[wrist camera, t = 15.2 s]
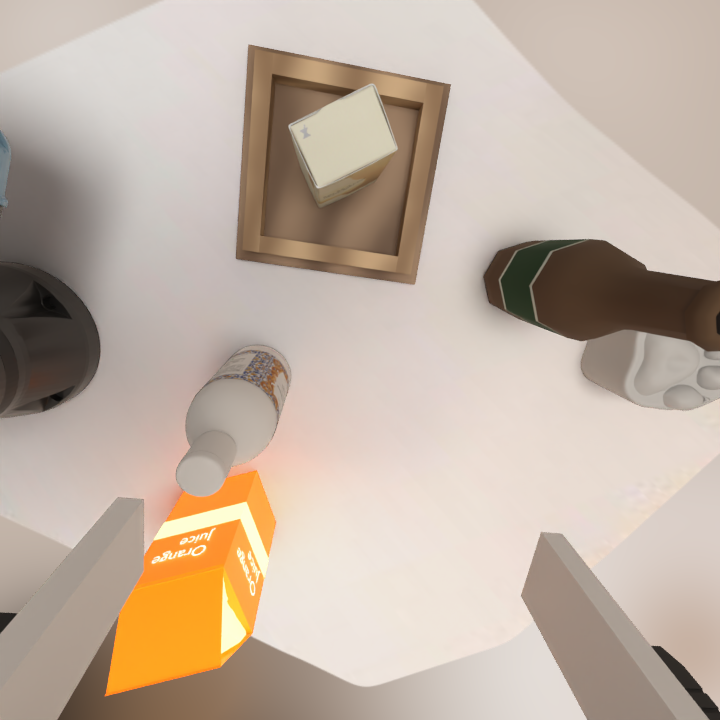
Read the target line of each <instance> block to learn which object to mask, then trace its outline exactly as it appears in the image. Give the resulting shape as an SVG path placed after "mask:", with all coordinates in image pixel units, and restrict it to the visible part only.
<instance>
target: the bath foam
mask: <svg viewBox="0 0 720 720" xmlns="http://www.w3.org/2000/svg"><path fill="white" fill-rule="evenodd" d="M290 381H291V373H290V368H289V366H288V364H287V362H286V360H285V359H284V357H283V356H282V355H281V354H280V353H278V352H277V351H275V350H274V349H272V348H269V347H266V346H260V345H254V346H248V347H245V348H242V349H241V350H239V351H237V352H236V353H235V354H234V355H233V356H232V357H231V358H230V359H229V360H228V361H227V362H226V363H225V364H224V365H223V366H222V367H221V368H220V370H219V371H218V372H217V373H216V374H215V375H214V376H213V377H212V378H211V379H210V380H209V381H208V382H207V383H206V385H205V386H204V387H203V388H202V389H201V390H200V391H199V392H198V393H197V395H196V396H195V397H194V399H193V401H192V403H191V405H190V407H189V410H188V413H187V417H186V435H187V439H188V442H189V444H190V446H191V448H190V449H189V450H188V452H187V453H186V455H185V456H184V457H183V459H182V460H181V462H180V463H179V465H178V467H177V470H176V480H177V483H178V484H179V486H180V487H181V489H182V490H184V491H185V492H186V493H188V494H190V495H193V496H197V497H206V496H210V495H212V494H214V493H216V492H217V491H218V490H219V489H220V488H221V487H222V486H223V484H224V482H225V480H226V478H227V475H228V473H229V471H230V469H231V467H233V466H238V465H241V464H244V463H246V462H248V461H250V460H252V459H253V458H255V457H256V456H258V455H259V454H260V453H261V452H262V451H263V450H264V449H265V448H266V446H267V445H268V444H269V442H270V441H271V439H272V437H273V435H274V433H275V430H276V427H277V424H278V421H279V418H280V415H281V412H282V408H283V405H284V402H285V399H286V396H287V393H288V389H289V386H290Z"/></svg>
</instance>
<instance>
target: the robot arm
mask: <svg viewBox="0 0 720 720" xmlns="http://www.w3.org/2000/svg"><path fill="white" fill-rule="evenodd" d="M10 161H11V148H10V145H9V142H8V140H7V138H6V137H5V135H4V134H3V132H2V131H1V130H0V218H1V214H2V210H3V207H5V208H7V204H8V201H7V199H6V198H5V191H6V185H7V179H8V173H9V167H10ZM99 354H100V346H99V337H98V333H97V329H96V326H95V324H94V321H93V319H92V317H91V315H90V313H89V311H88V310H87V308H86V307H85V305H84V304H83V303H82V301H81V300H80V299H79V298H78V297H77V295H76V294H75V293H74V292H73V291H72V290H71V289H69V288H68V287H67V286H66V285H65V284H63V283H62V282H61V281H59V280H58V279H56V278H55V277H53V276H51V275H50V274H48V273H46V272H44V271H41V270H39V269H36V268H34V267H31V266H27V265H23V264H18V263H10V262H0V418H8V417H15V416H22V415H29V414H35V413H40V412H44V411H47V410H50V409H52V408H55V407H57V406H59V405H61V404H62V403H64V402H66V401H68V400H69V399H71V398H73V397H74V396H76V395H77V394H79V393H80V392H81V391H82V390H83V389H84V388H85V387H86V386H87V385H88V384H89V382H90V381H91V379H92V378H93V376H94V374H95V371H96V369H97V365H98V361H99ZM143 572H144V499H132V498H120V497H118V498H117V499H116V500H115V501H114V502H113V504H112V505H111V506H110V507H109V508H108V509H107V511H106V512H105V513H104V514H103V515H102V516H101V518H100V519H99V520H98V521H97V522H96V523H95V525H94V526H93V527H92V528H91V529H90V530H89V531H88V533H87V534H86V535H85V536H84V537H83V538H82V540H81V541H80V542H79V543H78V544H77V545H76V547H75V548H74V549H73V550H72V551H71V553H70V554H69V555H68V556H67V557H66V558H65V559H64V560H63V562H62V563H61V564H60V565H59V567H58V568H57V569H56V570H55V571H54V572H53V573H52V574H51V576H50V577H49V578H48V579H47V580H46V581H45V583H44V584H43V585H42V586H41V587H40V588H39V590H38V591H37V592H36V593H35V594H34V595H33V596H32V598H31V599H30V600H29V601H28V602H27V603H26V605H25V606H24V607H23V608H22V609H21V610H20V612H19V613H18V614H16V613H0V720H57V719H58V717H59V716H60V714H61V712H62V710H63V709H64V707H65V705H66V704H67V702H68V700H69V698H70V697H71V695H72V693H73V692H74V690H75V688H76V687H77V685H78V683H79V681H80V679H81V678H82V676H83V675H84V673H85V671H86V669H87V668H88V666H89V664H90V663H91V661H92V659H93V657H94V656H95V654H96V652H97V651H98V649H99V647H100V645H101V644H102V642H103V640H104V639H105V637H106V635H107V634H108V632H109V630H110V628H111V626H112V625H113V623H114V622H115V620H116V618H117V616H118V615H119V613H120V611H121V610H122V608H123V606H124V605H125V603H126V601H127V599H128V598H129V596H130V594H131V593H132V591H133V589H134V587H135V586H136V584H137V582H138V581H139V579H140V577H141V576H142V574H143ZM521 597H522V599H523V600H524V602H525V604H526V606H527V608H528V610H529V612H530V614H531V615H532V617H533V619H534V621H535V623H536V625H537V627H538V628H539V630H540V632H541V634H542V636H543V638H544V640H545V641H546V643H547V645H548V647H549V649H550V651H551V653H552V655H553V656H554V658H555V660H556V662H557V664H558V666H559V668H560V669H561V671H562V673H563V675H564V677H565V679H566V681H567V683H568V685H569V686H570V688H571V690H572V692H573V694H574V696H575V697H576V699H577V701H578V703H579V705H580V707H581V709H582V711H583V713H584V715H585V716H586V718H587V720H720V712H719V710H718V707H717V706H716V705H715V703H714V702H713V701H712V700H711V699H710V697H709V696H708V695H707V694H706V693H703V691H702V688H701V687H700V685H699V684H698V683H697V682H696V681H695V679H694V678H693V677H692V676H691V675H690V673H689V672H688V671H687V670H686V669H685V667H684V666H683V665H682V664H680V663H679V662H678V661H677V660H676V659H675V658H673V657H672V656H671V655H670V654H669V653H668V652H666V651H665V650H664V649H663V648H662V647H660V646H651V645H650V644H649V643H648V642H647V641H646V639H645V638H644V637H643V635H642V634H641V633H640V632H639V630H638V629H637V628H636V627H635V626H634V624H633V623H632V621H631V620H630V619H629V618H628V617H627V615H626V614H625V613H624V611H623V610H622V609H621V608H620V607H619V605H618V604H617V603H616V601H615V600H614V599H613V598H612V596H611V595H610V594H609V592H608V591H607V590H606V589H605V587H604V586H603V585H602V584H601V582H600V581H599V580H598V579H597V577H595V575H594V574H593V572H592V571H591V570H590V568H589V567H588V566H587V565H586V563H585V562H584V561H583V560H582V558H581V557H580V556H579V555H578V553H577V552H576V551H575V550H574V548H573V547H572V546H571V545H570V543H569V542H568V541H567V539H566V538H565V537H564V536H563V534H558V533H546V532H541V534H540V538H539V541H538V544H537V547H536V550H535V553H534V556H533V560H532V563H531V566H530V569H529V572H528V575H527V578H526V582H525V585H524V588H523V591H522V594H521Z"/></svg>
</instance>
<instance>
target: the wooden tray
mask: <svg viewBox="0 0 720 720" xmlns="http://www.w3.org/2000/svg"><path fill="white" fill-rule="evenodd" d="M369 84H374V85H375V86H376V88H377V90H378V93H379V96H380V98H381V101H382V104H383V106H384V109H385V112H386V115H387V118H388V120H389V123H390V126H391V129H392V132H393V135H394V138H395V141H396V144H397V147H398V149H397V151H396V152H395V154H394V155H393V157H392V158H391V160H390V161H389V163H388V164H387V165H386V167H385V168H384V170H383V171H382V173H381V174H380V176H379V177H378V179H377V180H376V181H375V182H374V183H372V184H370V185H368V186H366V187H364V188H362V189H360V190H358V191H357V192H355V193H353V194H351V195H349V196H347V197H345V198H342V199H340V200H338V201H336V202H334V203H331V204H329V205H327V206H325V207H322V208H319V207H318V205H317V203H316V201H315V199H314V197H313V195H312V193H311V191H310V188H309V186H308V184H307V182H306V179H305V177H304V175H303V172H302V170H301V167H300V165H299V161H298V158H297V154H296V151H295V148H294V144H293V141H292V137H291V134H290V131H289V127H288V126H289V125H290V124H291V123H293V122H295V121H297V120H299V119H301V118H303V117H305V116H307V115H309V114H311V113H313V112H315V111H317V110H319V109H321V108H323V107H324V106H326V105H328V104H330V103H332V102H334V101H336V100H338V99H340V98H343V97H344V96H346V95H348V94H350V93H352V92H354V91H356V90H358V89H361V88H363V87H365V86H367V85H369ZM450 86H451V84H445V83H440V82H435V81H430V80H425V79H420V78H415V77H410V76H405V75H400V74H395V73H390V72H385V71H380V70H375V69H370V68H365V67H360V66H355V65H350V64H345V63H339V62H334V61H329V60H324V59H319V58H314V57H309V56H304V55H299V54H294V53H289V52H284V51H279V50H274V49H269V48H264V47H259V46H254V45H249V46H248V63H247V80H246V97H245V114H244V131H243V148H242V165H241V182H240V199H239V216H238V233H237V250H236V259H241V260H248V261H255V262H262V263H269V264H276V265H283V266H290V267H297V268H304V269H311V270H318V271H325V272H331V273H338V274H345V275H352V276H359V277H366V278H373V279H380V280H387V281H394V282H401V283H408V284H415V281H416V275H417V270H418V264H419V259H420V253H421V247H422V242H423V236H424V231H425V225H426V220H427V214H428V209H429V203H430V197H431V192H432V186H433V181H434V175H435V170H436V164H437V159H438V153H439V148H440V142H441V136H442V131H443V125H444V120H445V114H446V109H447V103H448V98H449V92H450Z"/></svg>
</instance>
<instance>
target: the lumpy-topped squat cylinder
mask: <svg viewBox="0 0 720 720" xmlns="http://www.w3.org/2000/svg"><path fill="white" fill-rule="evenodd" d="M581 370H582V372H583V374H584V375H585V377H586V378H588V379H589V380H590V381H592V382H594V383H596V384H598V385H600V386H602V387H604V388H606V389H607V390H609V391H611V392H613V393H615V394H617V395H619V396H621V397H623V398H625V399H627V400H629V401H631V402H632V403H634V404H637V405H639V406H642V407H648V408H656V409H664V410H693V409H695V408H698V407H701V406H703V405H706V404H708V403H710V402H713V401H715V400H717V399H719V398H720V351H712V352H707V351H706V350H704V349H702V348H700V347H699V346H697V345H695V344H694V343H692V342H690V341H686V340H681V339H676V338H671V337H665V336H660V335H655V334H650V333H645V332H639V331H634V330H621V331H618V332H615V333H612V334H609V335H605V336H602V337H599V338H596V339H591V340H588V341H587V345H586V348H585V350H584V353H583V356H582V359H581Z"/></svg>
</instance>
